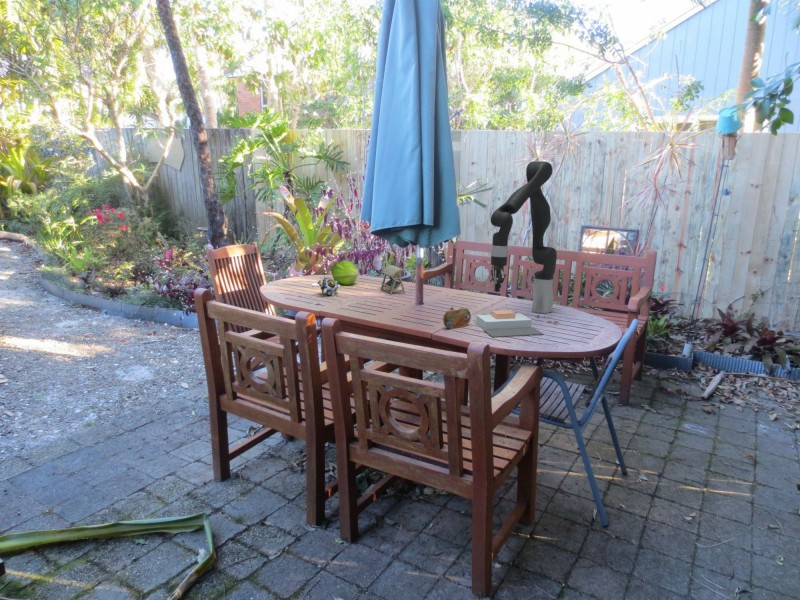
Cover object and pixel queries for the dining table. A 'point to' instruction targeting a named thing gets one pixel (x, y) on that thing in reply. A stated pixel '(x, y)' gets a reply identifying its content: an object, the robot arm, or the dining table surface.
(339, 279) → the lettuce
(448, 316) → the tin
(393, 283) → the swing bench
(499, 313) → the peach rectangular block
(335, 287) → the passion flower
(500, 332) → the mat
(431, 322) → the dining table surface
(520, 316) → the plate
